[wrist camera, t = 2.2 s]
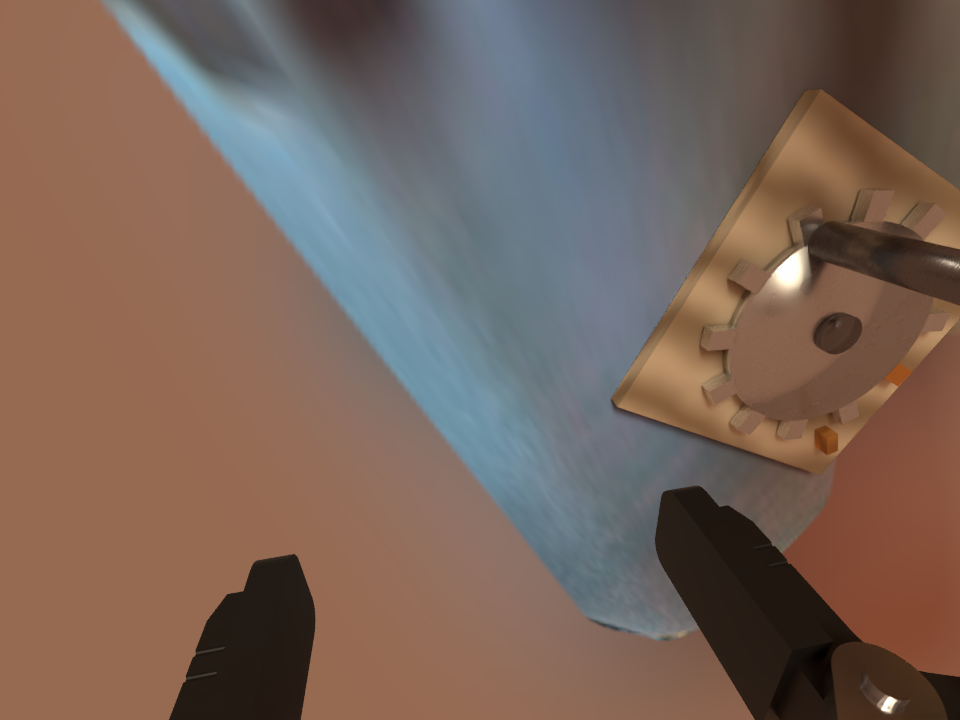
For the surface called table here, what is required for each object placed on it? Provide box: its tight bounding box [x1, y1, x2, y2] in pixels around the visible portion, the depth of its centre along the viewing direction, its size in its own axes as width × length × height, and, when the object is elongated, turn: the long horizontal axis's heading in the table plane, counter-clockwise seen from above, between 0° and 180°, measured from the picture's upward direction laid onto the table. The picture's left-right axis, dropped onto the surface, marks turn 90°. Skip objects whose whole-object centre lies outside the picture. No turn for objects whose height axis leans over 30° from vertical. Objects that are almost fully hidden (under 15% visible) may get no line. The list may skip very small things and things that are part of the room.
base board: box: [611, 89, 960, 475], centre depth 42 cm, size 28×28×3 cm
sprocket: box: [700, 188, 960, 440], centre depth 37 cm, size 24×24×12 cm
